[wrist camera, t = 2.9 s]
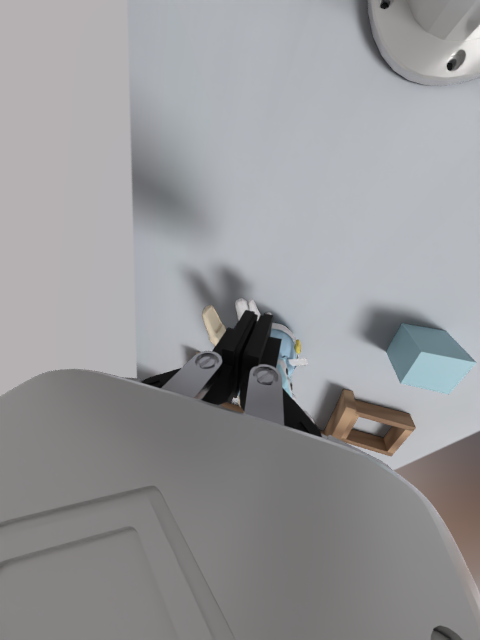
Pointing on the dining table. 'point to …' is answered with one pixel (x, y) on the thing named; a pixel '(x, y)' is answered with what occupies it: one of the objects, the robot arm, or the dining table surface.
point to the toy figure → (287, 348)
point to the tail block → (428, 358)
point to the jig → (352, 409)
